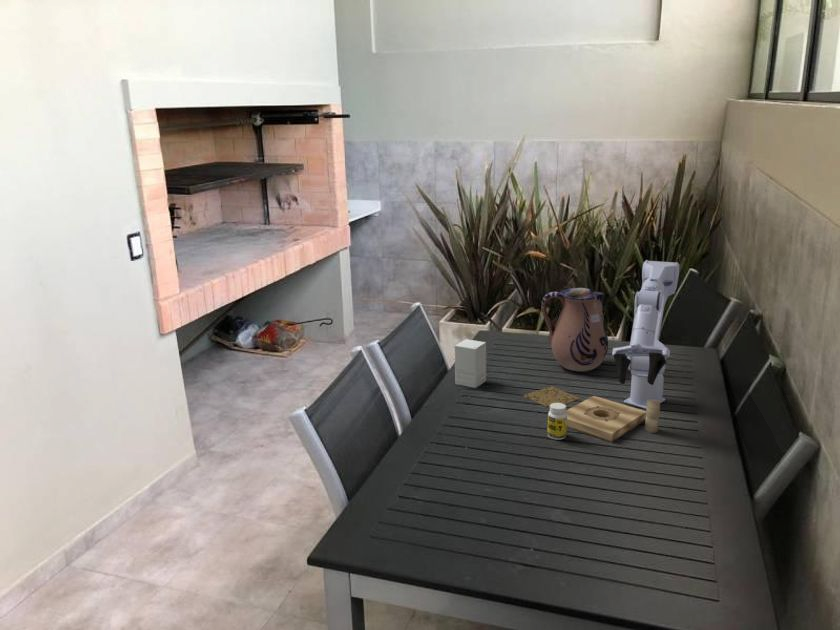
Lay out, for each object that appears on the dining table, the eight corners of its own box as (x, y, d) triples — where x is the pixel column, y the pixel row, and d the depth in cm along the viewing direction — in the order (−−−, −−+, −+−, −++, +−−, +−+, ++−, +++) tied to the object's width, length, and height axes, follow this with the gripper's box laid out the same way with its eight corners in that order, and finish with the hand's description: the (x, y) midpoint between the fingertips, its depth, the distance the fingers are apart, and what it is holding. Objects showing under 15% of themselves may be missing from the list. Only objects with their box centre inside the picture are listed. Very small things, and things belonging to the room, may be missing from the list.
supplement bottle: (544, 438, 173) (545, 407, 171) (550, 430, 177) (551, 400, 175) (563, 441, 171) (564, 410, 169) (568, 434, 175) (569, 403, 173)
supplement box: (486, 380, 211) (487, 342, 208) (475, 388, 205) (475, 349, 202) (465, 376, 215) (465, 338, 212) (454, 384, 209) (453, 345, 206)
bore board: (593, 403, 193) (593, 395, 193) (646, 419, 182) (646, 411, 182) (556, 423, 181) (557, 415, 180) (611, 442, 170) (611, 433, 170)
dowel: (648, 426, 179) (650, 398, 176) (660, 430, 176) (662, 401, 174) (642, 430, 176) (644, 401, 174) (654, 434, 174) (656, 405, 172)
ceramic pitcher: (612, 376, 213) (617, 298, 206) (544, 377, 213) (547, 299, 206) (599, 357, 229) (603, 285, 222) (536, 358, 230) (538, 286, 223)
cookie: (582, 400, 197) (582, 397, 196) (552, 410, 190) (552, 407, 190) (552, 387, 206) (552, 384, 206) (522, 397, 200) (522, 394, 199)
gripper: (610, 327, 179) (602, 376, 174) (664, 326, 169) (657, 377, 164) (622, 338, 183) (614, 386, 179) (675, 337, 174) (668, 388, 169)
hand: (635, 383), depth 172 cm, fingers open, 7 cm apart
